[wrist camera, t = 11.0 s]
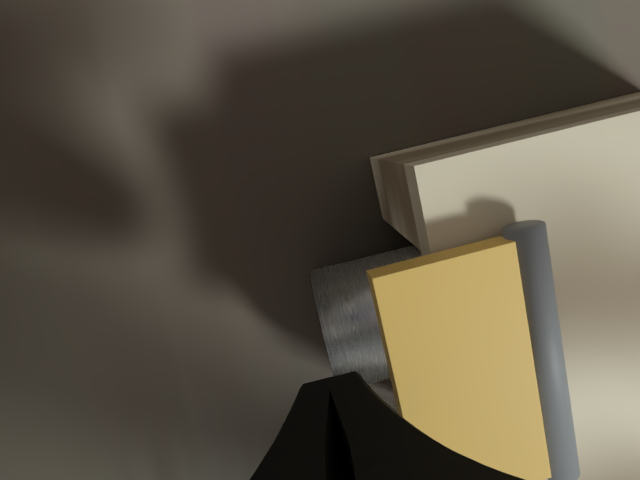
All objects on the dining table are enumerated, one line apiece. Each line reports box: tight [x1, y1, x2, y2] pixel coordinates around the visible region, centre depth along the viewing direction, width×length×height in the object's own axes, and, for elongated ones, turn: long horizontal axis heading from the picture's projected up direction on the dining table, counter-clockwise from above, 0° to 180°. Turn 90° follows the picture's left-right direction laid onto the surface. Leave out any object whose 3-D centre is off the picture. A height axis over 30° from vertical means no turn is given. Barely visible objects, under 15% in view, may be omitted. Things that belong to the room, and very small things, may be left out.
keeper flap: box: [366, 220, 580, 480], centre depth 11 cm, size 6×1×4 cm
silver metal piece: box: [309, 245, 422, 384], centre depth 15 cm, size 7×14×6 cm, turn 104°
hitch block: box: [370, 91, 640, 480], centre depth 15 cm, size 10×10×6 cm
